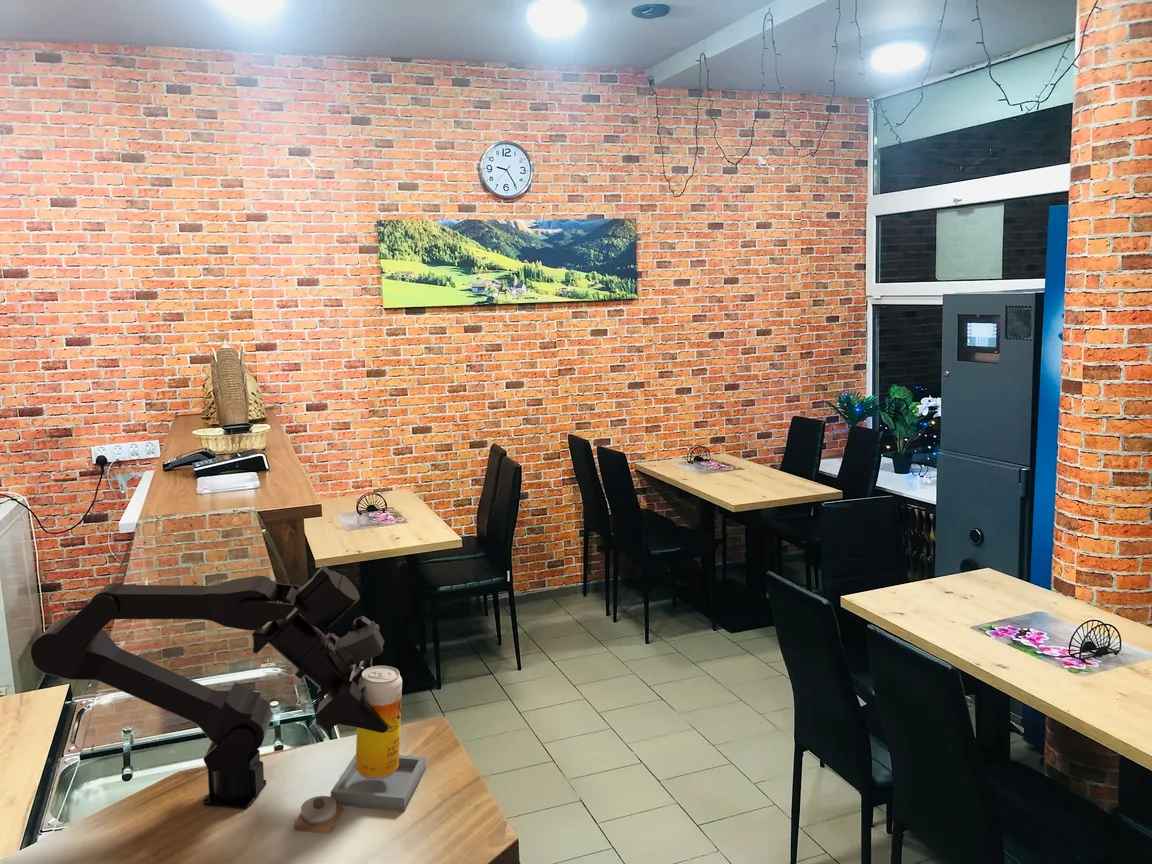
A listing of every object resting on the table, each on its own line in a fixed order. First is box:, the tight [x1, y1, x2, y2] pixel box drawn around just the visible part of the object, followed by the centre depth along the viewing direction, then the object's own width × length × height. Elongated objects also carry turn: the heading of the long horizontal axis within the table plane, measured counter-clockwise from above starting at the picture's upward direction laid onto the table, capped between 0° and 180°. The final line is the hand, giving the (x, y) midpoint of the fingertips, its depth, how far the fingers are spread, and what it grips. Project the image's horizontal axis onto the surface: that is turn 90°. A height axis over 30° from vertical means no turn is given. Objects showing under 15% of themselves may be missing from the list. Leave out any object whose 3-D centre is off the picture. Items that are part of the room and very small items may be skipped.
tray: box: [330, 753, 427, 812], centre depth 128 cm, size 11×11×2 cm
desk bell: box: [293, 795, 345, 834], centre depth 120 cm, size 5×5×3 cm
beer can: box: [355, 665, 403, 780], centre depth 127 cm, size 6×6×15 cm
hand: (387, 719), depth 127 cm, fingers closed on beer can, 6 cm apart
